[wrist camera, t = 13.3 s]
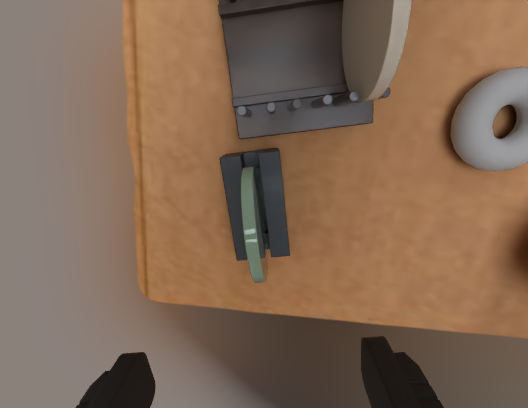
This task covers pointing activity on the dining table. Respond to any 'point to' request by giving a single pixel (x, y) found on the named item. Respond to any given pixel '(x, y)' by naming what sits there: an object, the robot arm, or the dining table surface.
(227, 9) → the dish rack
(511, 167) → the donut
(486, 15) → the dining table surface
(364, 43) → the cream plate
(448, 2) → the dining table surface
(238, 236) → the plate stand
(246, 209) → the sage plate
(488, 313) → the dining table surface
